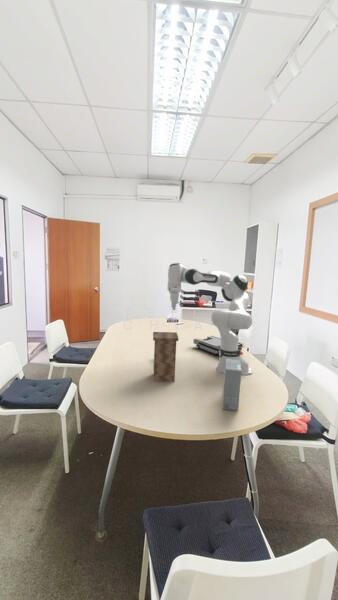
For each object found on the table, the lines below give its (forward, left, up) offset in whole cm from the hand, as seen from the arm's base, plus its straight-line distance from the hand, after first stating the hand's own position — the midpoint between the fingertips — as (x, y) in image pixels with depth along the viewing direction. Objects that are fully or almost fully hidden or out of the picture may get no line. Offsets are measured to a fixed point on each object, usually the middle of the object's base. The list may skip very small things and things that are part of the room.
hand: (173, 308), depth 186 cm
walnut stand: (+6, +25, -37) cm, 45 cm away
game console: (-38, -27, -38) cm, 60 cm away
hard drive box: (-26, +54, -37) cm, 71 cm away
